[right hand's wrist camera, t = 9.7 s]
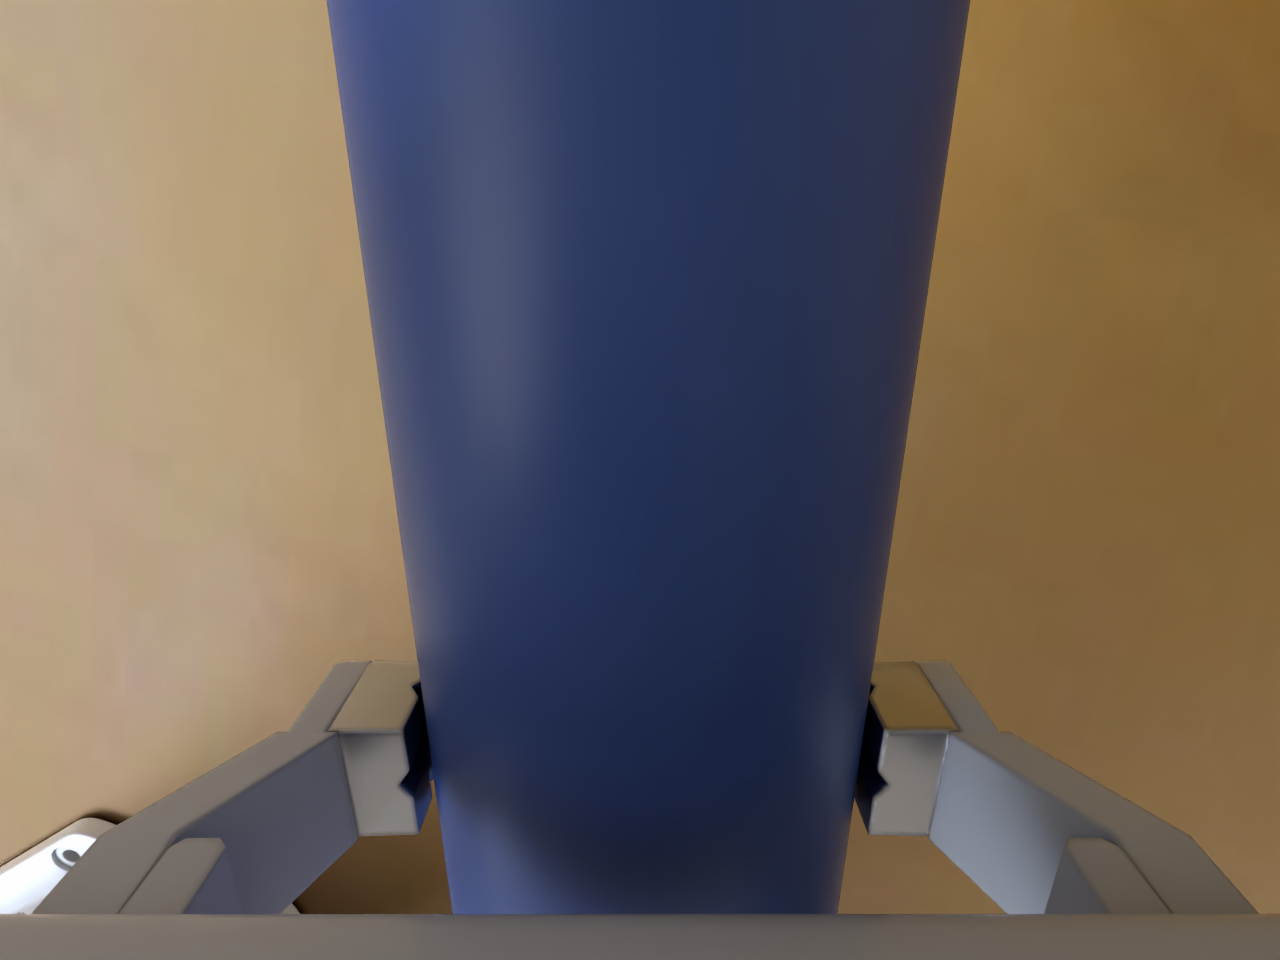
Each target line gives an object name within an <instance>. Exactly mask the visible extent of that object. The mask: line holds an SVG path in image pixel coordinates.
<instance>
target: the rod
mask: <svg viewBox="0 0 1280 960" xmlns="http://www.w3.org/2000/svg"><path fill="white" fill-rule="evenodd" d="M969 5H970V0H327V6H328V13H329V21H330V28H331V35H332V42H333V50H334V57H335V64H336V71H337V79H338V86H339V93H340V100H341V108H342V115H343V122H344V129H345V137H346V144H347V151H348V159H349V166H350V173H351V180H352V188H353V195H354V202H355V209H356V217H357V224H358V231H359V238H360V246H361V253H362V260H363V267H364V275H365V282H366V289H367V296H368V304H369V311H370V318H371V325H372V333H373V340H374V347H375V354H376V362H377V369H378V376H379V383H380V391H381V398H382V405H383V412H384V420H385V427H386V434H387V441H388V449H389V456H390V463H391V470H392V478H393V485H394V492H395V499H396V507H397V514H398V521H399V528H400V536H401V543H402V550H403V557H404V565H405V572H406V579H407V587H408V594H409V601H410V608H411V616H412V623H413V630H414V637H415V645H416V652H417V659H418V666H419V674H420V681H421V688H422V695H423V703H424V710H425V717H426V724H427V732H428V739H429V746H430V753H431V761H432V768H433V775H434V782H435V790H436V797H437V804H438V811H439V819H440V826H441V833H442V840H443V848H444V855H445V862H446V869H447V877H448V884H449V891H450V898H451V906H452V913H453V914H837V912H838V905H839V899H840V892H841V885H842V878H843V871H844V864H845V857H846V850H847V844H848V837H849V830H850V823H851V816H852V809H853V802H854V795H855V789H856V782H857V775H858V768H859V761H860V754H861V747H862V740H863V734H864V727H865V720H866V713H867V706H868V699H869V692H870V685H871V678H872V672H873V665H874V658H875V651H876V644H877V637H878V630H879V623H880V617H881V610H882V603H883V596H884V589H885V582H886V575H887V568H888V562H889V555H890V548H891V541H892V534H893V527H894V520H895V513H896V507H897V500H898V493H899V486H900V479H901V472H902V465H903V458H904V452H905V445H906V438H907V431H908V424H909V417H910V410H911V403H912V397H913V390H914V383H915V376H916V369H917V362H918V355H919V348H920V342H921V335H922V328H923V321H924V314H925V307H926V300H927V293H928V287H929V280H930V273H931V266H932V259H933V252H934V245H935V238H936V232H937V225H938V218H939V211H940V204H941V197H942V190H943V183H944V176H945V170H946V163H947V156H948V149H949V142H950V135H951V128H952V121H953V115H954V108H955V101H956V94H957V87H958V80H959V73H960V66H961V60H962V53H963V46H964V39H965V32H966V25H967V18H968V11H969Z"/></svg>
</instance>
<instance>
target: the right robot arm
mask: <svg viewBox="0 0 1280 960" xmlns="http://www.w3.org/2000/svg"><path fill="white" fill-rule="evenodd" d="M433 779H434V775H433V768H432V761H431V753H430V746H429V739H428V732H427V724H426V717H425V710H424V703H423V695H422V688H421V681H420V674H419V666H418V662H417V661H340V662H338V663H336V664H335V665H334V666H333V667H332V668H331V670H330V671H329V673H328V674H327V676H326V677H325V679H324V680H323V682H322V683H321V684H320V686H319V687H318V689H317V690H316V692H315V693H314V695H313V696H312V697H311V699H310V700H309V702H308V703H307V705H306V706H305V708H304V709H303V711H302V712H301V713H300V715H299V716H298V718H297V719H296V721H295V722H294V724H293V725H292V726H291V728H290V729H289V731H288V732H277V733H275V734H273V735H271V736H270V737H268V738H266V739H265V740H263V741H261V742H259V743H258V744H256V745H254V746H252V747H251V748H249V749H247V750H246V751H244V752H242V753H240V754H239V755H237V756H235V757H234V758H232V759H230V760H228V761H227V762H225V763H223V764H221V765H220V766H218V767H216V768H215V769H213V770H211V771H209V772H208V773H206V774H204V775H202V776H201V777H199V778H197V779H196V780H194V781H192V782H190V783H189V784H187V785H185V786H183V787H182V788H180V789H178V790H177V791H175V792H173V793H171V794H170V795H168V796H166V797H165V798H163V799H161V800H159V801H158V802H156V803H154V804H152V805H151V806H149V807H147V808H146V809H144V810H142V811H140V812H139V813H137V814H135V815H133V816H132V817H130V818H128V819H127V820H125V821H123V822H121V823H120V824H118V825H115V824H113V823H110V822H107V821H104V820H101V819H97V818H83V819H80V820H78V821H76V822H74V823H73V824H71V825H69V826H68V827H66V828H64V829H63V830H61V831H59V832H58V833H56V834H55V835H53V836H51V837H50V838H48V839H46V840H45V841H43V842H41V843H40V844H38V845H36V846H35V847H33V848H31V849H30V850H28V851H26V852H25V853H23V854H21V855H20V856H18V857H16V858H15V859H13V860H11V861H10V862H8V863H6V864H5V865H3V866H2V867H0V960H1280V914H1259V913H1258V912H1257V911H1256V909H1255V908H1254V907H1253V906H1252V905H1251V904H1250V903H1249V902H1248V900H1247V899H1246V898H1245V897H1244V896H1243V895H1242V894H1241V893H1240V891H1239V890H1238V889H1237V888H1236V887H1235V886H1234V885H1233V883H1232V882H1231V881H1230V880H1229V879H1228V878H1227V877H1226V876H1225V874H1224V873H1223V872H1222V871H1221V870H1220V869H1219V868H1218V867H1217V865H1216V864H1215V863H1214V862H1213V861H1212V860H1211V859H1210V858H1209V856H1208V855H1207V854H1206V853H1205V852H1204V851H1203V850H1202V849H1201V847H1200V846H1199V845H1198V844H1197V843H1196V842H1195V841H1194V840H1193V838H1192V837H1191V836H1190V835H1188V834H1186V833H1184V832H1183V831H1181V830H1179V829H1177V828H1176V827H1174V826H1172V825H1170V824H1169V823H1167V822H1165V821H1164V820H1162V819H1160V818H1158V817H1157V816H1155V815H1153V814H1151V813H1150V812H1148V811H1146V810H1144V809H1143V808H1141V807H1139V806H1137V805H1136V804H1134V803H1132V802H1131V801H1129V800H1127V799H1125V798H1124V797H1122V796H1120V795H1118V794H1117V793H1115V792H1113V791H1111V790H1110V789H1108V788H1106V787H1105V786H1103V785H1101V784H1099V783H1098V782H1096V781H1094V780H1092V779H1091V778H1089V777H1087V776H1085V775H1084V774H1082V773H1080V772H1078V771H1077V770H1075V769H1073V768H1072V767H1070V766H1068V765H1066V764H1065V763H1063V762H1061V761H1059V760H1058V759H1056V758H1054V757H1052V756H1051V755H1049V754H1047V753H1045V752H1044V751H1042V750H1040V749H1039V748H1037V747H1035V746H1033V745H1032V744H1030V743H1028V742H1026V741H1025V740H1023V739H1021V738H1019V737H1018V736H1016V735H1014V734H1013V733H1011V732H999V730H998V729H997V728H996V726H995V725H994V723H993V722H992V721H991V719H990V718H989V716H988V715H987V713H986V712H985V711H984V709H983V708H982V706H981V705H980V704H979V702H978V701H977V699H976V698H975V697H974V695H973V694H972V692H971V691H970V690H969V688H968V687H967V685H966V684H965V682H964V681H963V680H962V678H961V677H960V675H959V674H958V673H957V671H956V670H955V668H954V667H953V666H952V664H951V663H949V662H947V661H946V660H931V661H912V662H874V665H873V672H872V678H871V685H870V692H869V699H868V706H867V713H866V720H865V727H864V734H863V740H862V747H861V754H860V761H859V768H858V775H857V782H856V789H855V795H854V798H855V800H856V803H857V806H858V808H859V811H860V814H861V816H862V819H863V821H864V824H865V827H866V829H867V832H868V835H900V836H929V840H930V841H931V842H932V843H933V844H934V845H935V846H937V847H938V848H939V849H940V850H941V851H942V852H943V853H944V854H945V855H946V856H947V857H948V858H949V859H950V860H951V861H952V862H953V863H954V864H956V865H957V866H958V867H959V868H960V869H961V870H962V871H963V872H964V873H965V874H966V875H967V876H968V877H969V878H970V879H971V880H972V881H973V882H975V883H976V884H977V885H978V886H979V887H980V888H981V889H982V890H983V891H984V892H985V893H986V894H987V895H988V896H989V897H990V898H991V899H992V900H993V901H995V902H996V903H997V904H998V905H999V906H1000V907H1001V908H1002V909H1003V910H1004V911H1005V912H1006V913H1007V914H300V913H299V911H298V910H297V909H296V907H295V906H294V905H293V904H292V902H293V901H294V900H295V899H296V898H297V897H298V896H299V895H301V894H302V893H303V892H304V891H305V890H306V889H307V888H308V887H309V886H310V885H311V884H312V883H313V882H314V881H315V880H316V879H317V878H318V877H319V876H320V875H321V874H323V873H324V872H325V871H326V870H327V869H328V868H329V867H330V866H331V865H332V864H333V863H334V862H335V861H336V860H337V859H338V858H339V857H340V856H341V855H342V854H343V853H345V852H346V851H347V850H348V849H349V848H350V847H351V846H352V845H353V844H354V843H355V842H356V841H357V840H358V838H357V836H386V835H419V832H420V829H421V826H422V824H423V821H424V818H425V815H426V813H427V810H428V807H429V804H430V802H431V799H432V791H431V783H430V781H431V780H433Z"/></svg>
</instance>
